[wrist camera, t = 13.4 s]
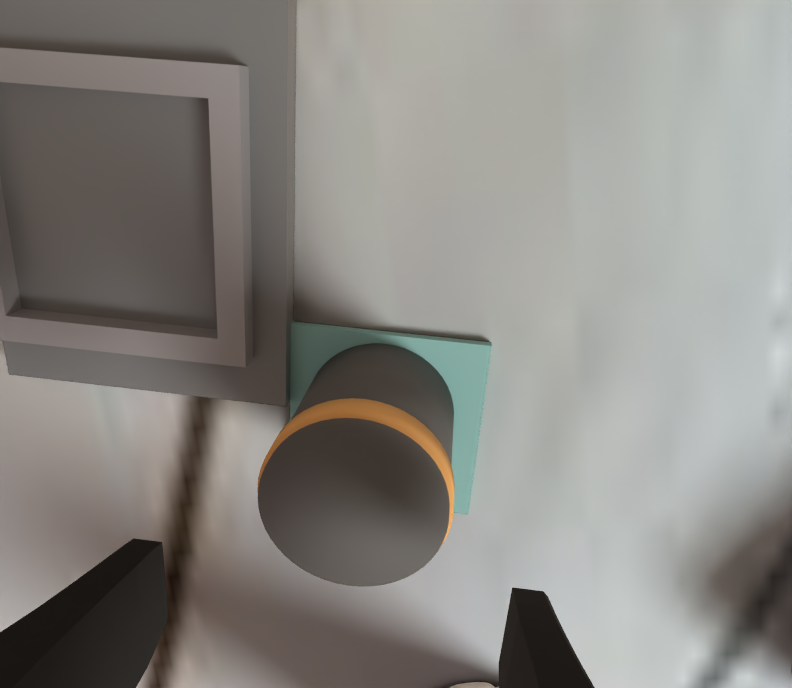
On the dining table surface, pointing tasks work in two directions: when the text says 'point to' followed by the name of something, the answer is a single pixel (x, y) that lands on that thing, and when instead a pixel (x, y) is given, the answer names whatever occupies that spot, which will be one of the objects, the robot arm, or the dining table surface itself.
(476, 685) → the water bottle
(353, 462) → the plug
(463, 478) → the mat
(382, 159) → the dining table surface
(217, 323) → the socket
